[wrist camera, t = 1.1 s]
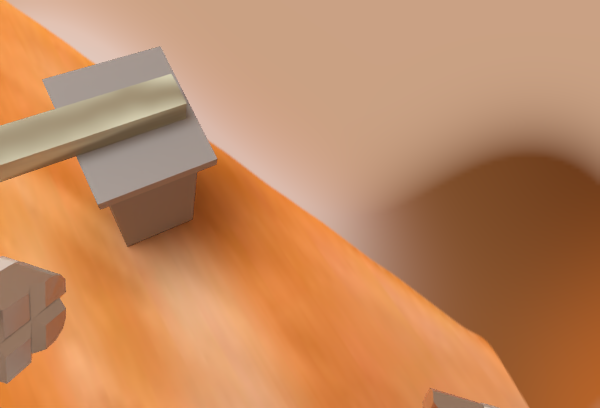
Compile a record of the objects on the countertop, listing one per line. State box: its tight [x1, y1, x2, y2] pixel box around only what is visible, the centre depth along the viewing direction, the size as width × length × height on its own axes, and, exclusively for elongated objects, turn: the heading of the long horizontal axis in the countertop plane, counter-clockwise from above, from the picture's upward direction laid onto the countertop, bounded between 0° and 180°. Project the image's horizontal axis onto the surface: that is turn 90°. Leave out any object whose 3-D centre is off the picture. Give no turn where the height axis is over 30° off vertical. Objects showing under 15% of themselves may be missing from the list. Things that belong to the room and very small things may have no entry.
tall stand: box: [42, 47, 217, 247], centre depth 59 cm, size 14×12×26 cm
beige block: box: [0, 74, 187, 182], centre depth 44 cm, size 4×19×3 cm, turn 117°
